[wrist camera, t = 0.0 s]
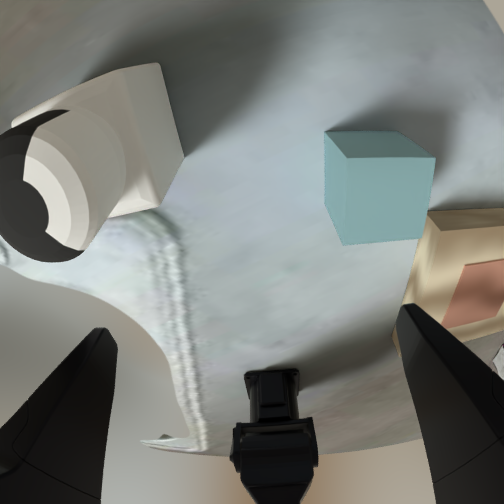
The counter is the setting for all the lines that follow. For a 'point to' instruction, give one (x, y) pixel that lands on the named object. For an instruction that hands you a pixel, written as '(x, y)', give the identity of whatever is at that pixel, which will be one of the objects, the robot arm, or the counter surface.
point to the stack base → (460, 272)
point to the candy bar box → (500, 361)
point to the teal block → (376, 185)
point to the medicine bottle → (86, 162)
